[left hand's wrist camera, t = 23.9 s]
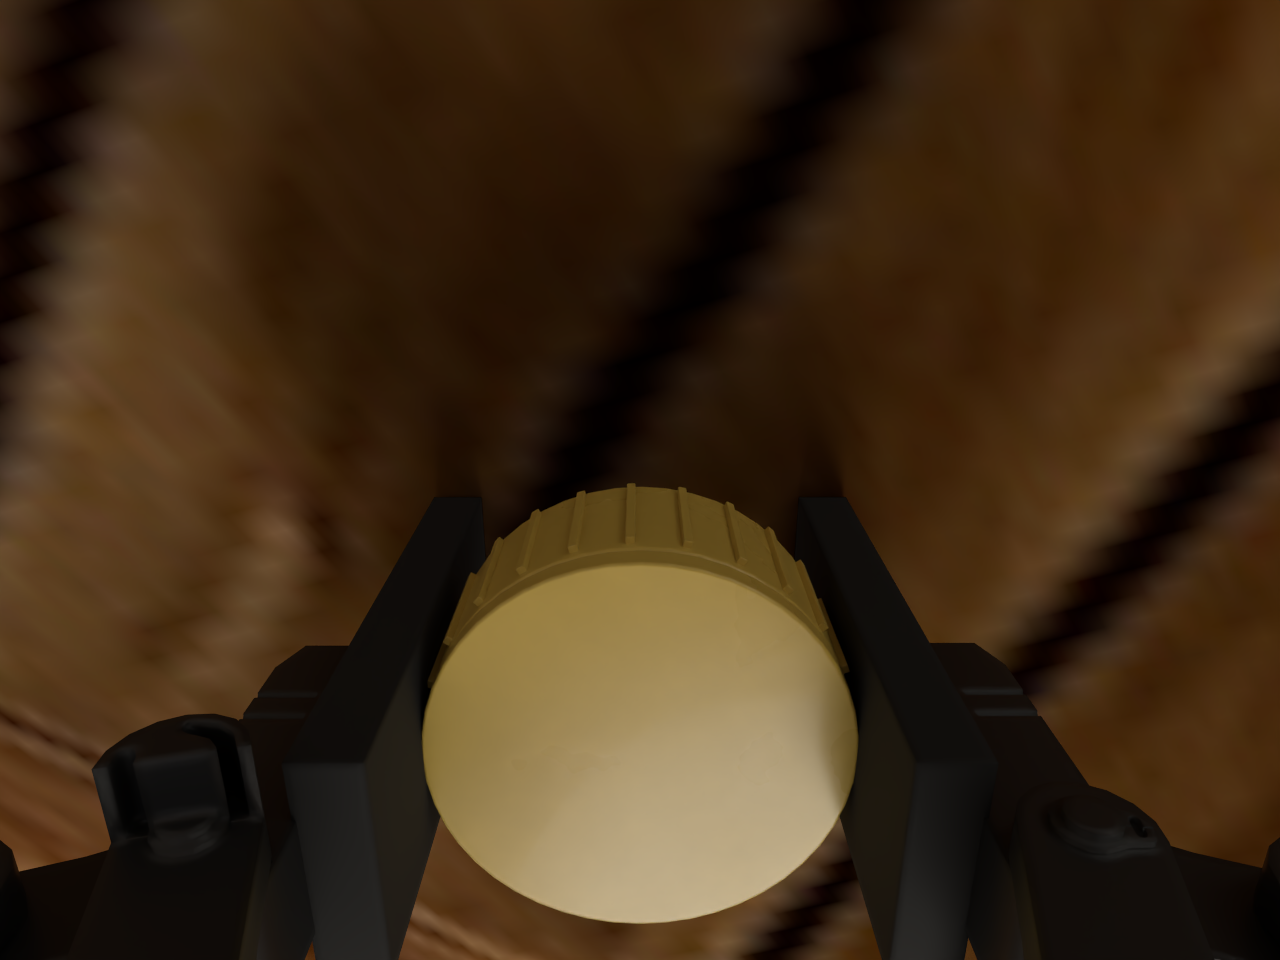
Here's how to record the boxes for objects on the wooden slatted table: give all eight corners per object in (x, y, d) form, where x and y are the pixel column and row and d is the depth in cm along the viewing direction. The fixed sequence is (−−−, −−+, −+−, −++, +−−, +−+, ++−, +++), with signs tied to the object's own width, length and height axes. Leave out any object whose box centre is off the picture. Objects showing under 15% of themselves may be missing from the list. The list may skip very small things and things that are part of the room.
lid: (895, 563, 12) (950, 655, 10) (731, 846, 14) (748, 976, 12) (530, 419, 11) (504, 484, 9) (405, 737, 13) (360, 854, 11)
